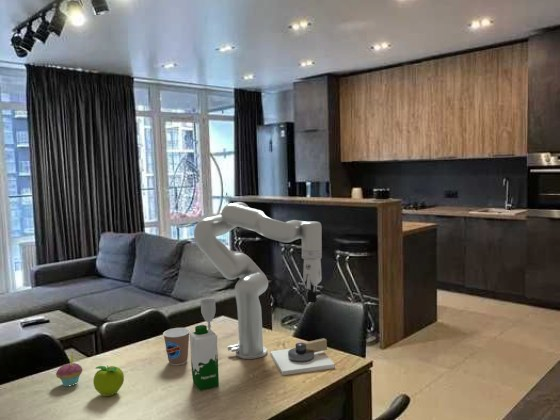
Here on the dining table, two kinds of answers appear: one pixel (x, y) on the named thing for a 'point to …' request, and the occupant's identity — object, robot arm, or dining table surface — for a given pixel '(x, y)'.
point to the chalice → (208, 310)
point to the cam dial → (307, 350)
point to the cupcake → (69, 373)
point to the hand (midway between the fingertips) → (312, 301)
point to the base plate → (290, 367)
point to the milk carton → (204, 358)
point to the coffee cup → (177, 345)
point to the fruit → (108, 380)
